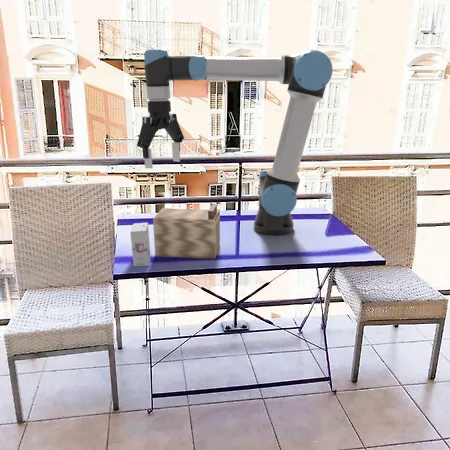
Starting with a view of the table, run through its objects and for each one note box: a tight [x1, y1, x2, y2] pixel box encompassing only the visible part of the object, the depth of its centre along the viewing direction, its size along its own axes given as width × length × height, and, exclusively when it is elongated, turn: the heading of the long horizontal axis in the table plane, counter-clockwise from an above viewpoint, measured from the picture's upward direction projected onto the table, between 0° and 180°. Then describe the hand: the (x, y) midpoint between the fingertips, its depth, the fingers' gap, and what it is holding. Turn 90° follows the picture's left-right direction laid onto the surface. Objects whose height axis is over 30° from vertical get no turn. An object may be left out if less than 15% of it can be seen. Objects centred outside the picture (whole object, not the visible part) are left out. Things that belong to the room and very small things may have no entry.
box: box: [152, 207, 221, 260], centre depth 153 cm, size 20×11×13 cm, turn 83°
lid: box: [154, 203, 219, 220], centre depth 151 cm, size 20×10×4 cm, turn 83°
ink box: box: [130, 222, 152, 267], centre depth 146 cm, size 9×5×12 cm, turn 5°
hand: (163, 164), depth 157 cm, fingers open, 13 cm apart
